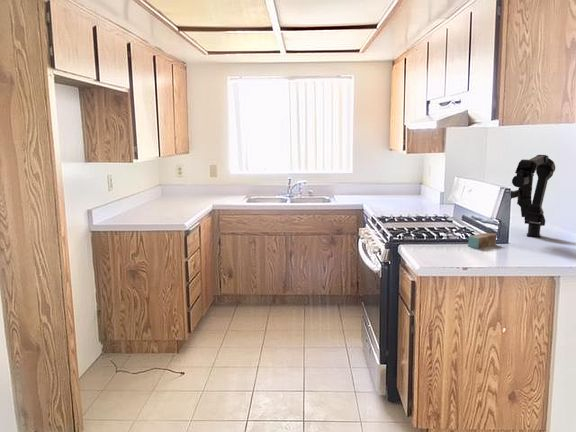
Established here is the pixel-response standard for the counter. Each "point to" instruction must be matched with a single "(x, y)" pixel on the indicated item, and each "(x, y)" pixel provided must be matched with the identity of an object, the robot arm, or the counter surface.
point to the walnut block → (482, 240)
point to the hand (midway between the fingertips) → (522, 216)
